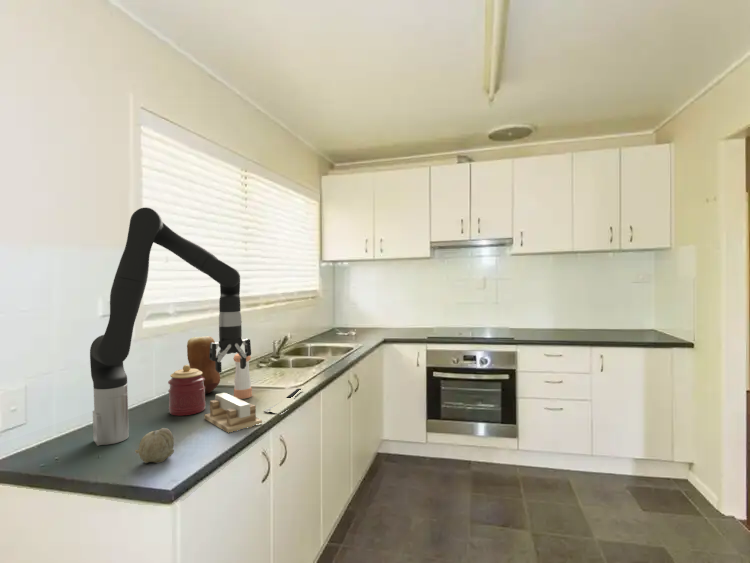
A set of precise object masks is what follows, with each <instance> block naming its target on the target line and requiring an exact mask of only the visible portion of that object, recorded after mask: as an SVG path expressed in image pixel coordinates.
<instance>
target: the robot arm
mask: <svg viewBox="0 0 750 563" xmlns="http://www.w3.org/2000/svg"><path fill="white" fill-rule="evenodd" d="M128 226H129V228H128V232H127V238H126V242H125V243H126V244H125V246H124V249H123V253H122V255H121V258H120V260H119V264H118V266H117V269H116V272H115V275H114V278H113V282H112V284H111V289H110V294H109V318H108V323H107V326H106V328H105V329H106V330H105V332H104V334H102V335H99V336H98V337H96V338H95V339H94V340H92V343H91V345H90V349H89V362H90V375H91V379H92V383H93V385H92V386H93V410H92V433H93V442H94V443H95V445H96V446H97V447H98V446H103V445H104V446H107V445H113V444H118V443H121V442H124V441H126V440H127V439H129V436H130V434H129V433H130V427H129V396H128V395H129V394H128V393H129V392H128V376H127V373H126V371H125V367H124V361H125V360H126V359H127V358H128V356H129V353H130V350H131V344H132V340H133V338H132V337H133V332H134V327H135V322H136V319H137V317H138V313H139V310H140V306H141V302H142V299H143V297H144V292H145V289H146V286H147V283H148V282H147V281H148V278H149V277H148V276H149V271H150V270H149V268H150V255H151V251H152V248H153V244H157V245H158V246H160V247H162V248H164V249H166V250H168V251H169V252H172V253H173V254H174V255H175V256H177V257H179V258H180V259H181V260H183V261H185V262H186V263H188V265H190V266H192V267H193V268H195V269H197V270H198V271H200V272H201V273H203V274H206V275H207V276H209V277H210V278H211V279H212V280H214V281H215V282H216V283H217V284H219V289H220V295H219V301H218V302H219V305H218V306H219V309H218V310H219V314H218V315H219V316H218V338H219V339H218V340H219V341H218V342H215V343H210V355H209V359H210V360H212V361H215V370H216V371H217V372H218V373H220V374H221V373H222V362H221V361H222V360H223V358H224V357H225V356H227V355H229V354H239V355H240V357H241V358H240V368H241V369H245V367H246V357H248V356H252V348H251V339H248V338H244V339H242V333H243V330H242V322H243V321H242V314H241V296H240V293H241V292H240V291H241V290H240V289H241V275H240V272H239V271H238V269H236V268H234V267H232V266H231V265H229V264H227V263H226V262H224V261H222V260H221V259H219V258H218V257H217V256H215V255H214V254H213V253H211V252H210V251H209V250H207V249H205V248H203V247H202V246H200V245H199V244H196V243H195V242H193V241H191V240H189V239H187V238H184V237H182V236H181V235H179V234H178V233H177V232H175V231H173V229H171V228H170V227H169V226H168V225H166V224H165V222H163V220H162V218H161V215H160V214H159V213H158V212H157V211H156V210H154V209H153V208H150V207H140V208H138V209H137V210H135V211H134V212H133V213H132V215H131V217H130V220H129V225H128ZM242 345H243V346H244V350H243V349H242V347H241V346H242ZM218 347H219V350H218ZM217 350H218V352H217Z"/></svg>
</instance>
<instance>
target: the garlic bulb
mask: <svg viewBox="0 0 750 563" xmlns="http://www.w3.org/2000/svg"><path fill="white" fill-rule="evenodd" d="M174 439H175V438H174V436H173V433H172V431H171V430H170V429H169V428H167V427H166V428H165V427H162V428H159V429H157V430H153V431H150V432H147V433H146V434H145V435H144V436H143V437H142V438H141V440H140V442H139V445H138V446H139V448H138V449H135V450H134V452H135V454H136V455H137V454H138V455H139V457H140V459H141V460H142V461H143V462H144V464H148V463H155V464H157V463H163V462H164V461H165V460H166V459H168V458H169V457H171V456H172V455H173V454H174V453H175V449H174V445H175V444H174V443H175V441H174Z"/></svg>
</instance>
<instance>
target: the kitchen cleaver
mask: <svg viewBox="0 0 750 563" xmlns="http://www.w3.org/2000/svg"><path fill="white" fill-rule="evenodd" d="M301 389H302V388H296V389H295V390H294V391H292V392H291V393H289V395H287V396H286V397H285V398H291V397H293V396H294V395H295V394H296V393H297V392H298V391H299V390H301ZM279 403H280V402H278V403H276V404H274V405H272V406H270V407H267V408H265V409H263V412H264V411H265V413H268V411H270V410H271V408H273V407H275V406H276V405H277V404H279ZM287 411H288V410H286V411H285V412H283V413H281V414H280V415H283V414H284V413H286V412H287Z"/></svg>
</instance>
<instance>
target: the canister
mask: <svg viewBox="0 0 750 563" xmlns="http://www.w3.org/2000/svg"><path fill="white" fill-rule="evenodd" d="M202 373H203V372H202V371H199V370H198V369H190V366H189V364H184V365H183V366H182V369H177V370H174V372H173V373H171V374H170V377H171V378H170V380H168V382H167V384H168V385H169V389H168V411H169V414H171V415H172V416H176V417H177V416H179V417H181V416H191V415H195V414H199V413H202V412H203V411H204V410H205V409H206V402H207V401H206V394H205V386H204V380H205V378H204V377H203V376H202V375H201V374H202Z"/></svg>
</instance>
